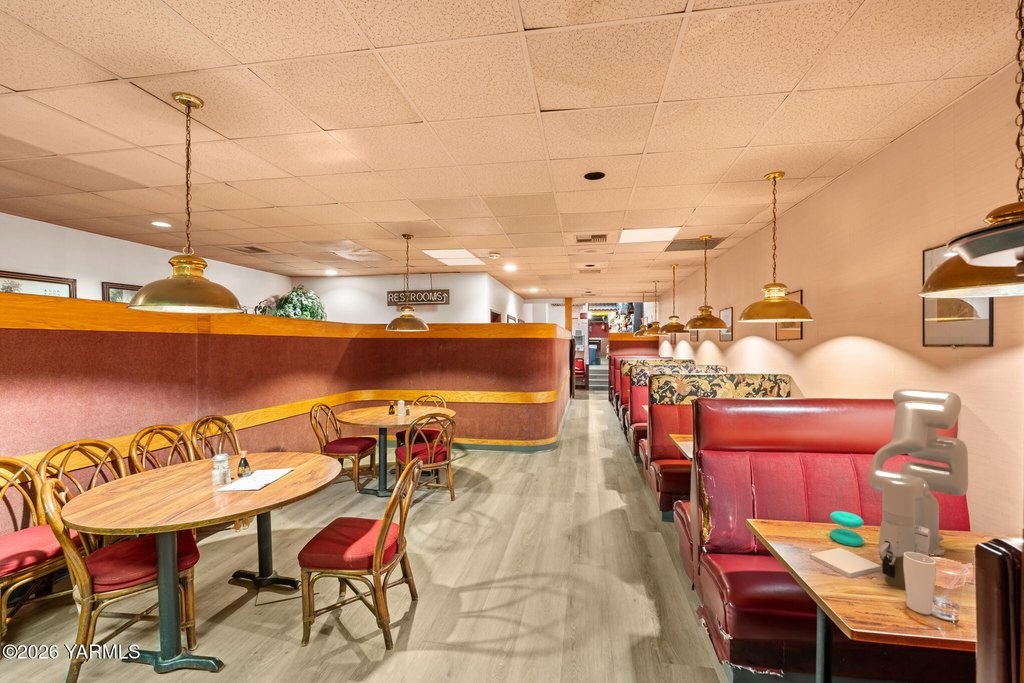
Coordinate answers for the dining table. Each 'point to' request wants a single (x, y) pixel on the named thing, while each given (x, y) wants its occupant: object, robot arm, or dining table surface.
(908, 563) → the white tall cup
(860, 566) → the ceramic tile
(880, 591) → the dining table surface
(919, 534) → the syrup box
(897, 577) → the cork
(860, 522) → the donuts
